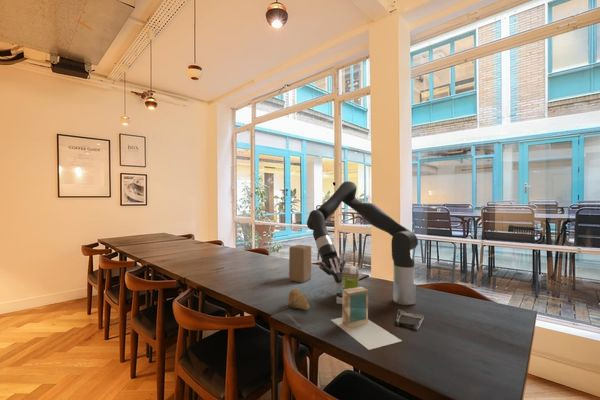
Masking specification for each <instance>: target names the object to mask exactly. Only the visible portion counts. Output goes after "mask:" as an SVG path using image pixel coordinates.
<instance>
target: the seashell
mask: <svg viewBox="0 0 600 400" xmlns="http://www.w3.org/2000/svg"><path fill="white" fill-rule="evenodd" d="M287 305H288V306H289V307H291V308H292V309H299V310H305V311H309V310H310V309H311V305H310V303H309V301H308V299H307V297H306V294H305V293H303V292H302V291H301V290H300V289H299V288H292V289H290V291H289V293H288V299H287Z"/></svg>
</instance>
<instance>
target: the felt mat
mask: <svg viewBox="0 0 600 400" xmlns="http://www.w3.org/2000/svg"><path fill="white" fill-rule="evenodd" d="M330 321H331V322H333V324H335V325H337V326H338V327H339V328H340V329H342V330H343V331H344V332H345V333H347V334H348V335H349V336H350V337H352V338H353V339H354V340H355V341H357V342H358V343H360V344H361V345H362V346H363V347H365V349H367V350H369V351H370V350H373V349H377V348H381V347H384V346H389V345H393V344H396V343H400V342H403V340H402V339H400V338H398V337H397V336H395V335H394V334H392V333H390V331H388V330H386V329H384V328H383V327H381V326H380V325H378V324H376V323H375V322H373V321H372V320H370V319H369V318H368V323H367V324H363V325H358V326H354V327H349V328H348V327H346V326H345V325H344V324H343V323H342V317H337V318H332V319H330Z"/></svg>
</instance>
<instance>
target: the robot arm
mask: <svg viewBox="0 0 600 400" xmlns="http://www.w3.org/2000/svg"><path fill="white" fill-rule="evenodd" d="M356 194H357V185H356V183H355V182H353V181H349V180H346V181H344V182H342V183H341V184H340V185H339V187H338V188H337V189H336V191H334V193H333V194H332V195H331V196H330V198H329V199H327V200H326V201H325V202H323V204H322V205H320V206H319V207H318V209H313V210H311V211H310V213H309V214H308V217H307V220H306V225H307V228H308V229H309V230H311V231H312V236H313V238H314V242H315V244H316V245H315V246H316V248H317V252H318V253H319V256H320V259H321V262H320V264H319V266H318V268H319V269H320V270H322V271H323V272H324V273H325V274H326V275H328V276H333V279H334V281H335V283H336V285H337V284H338V283H341V282H342V277H341V275H340V274H341V272H342V271H343V269H344V266H346V261H345V260H341V259H340V257H339V256H338V252H337V250H336V248H335V245H334V243H333V240H332V239H331V237H330V234H329V232H328V230H327V224H326V221H327V219H328V218H330V216H332V215H333V214H334V213H335V212H336V210H338V208H339V206H340V205H341V203H343V204H345V205H346V206H348V207H349V208H351V209H352V210H354V211H355V212H356V213H358V215H360V216H361V217H362V218H364V220H366V221H367V222H368V223H369V224H370V226H371V225H372V226H373V227H374V228H376V229H379V230H381V231H383V232H385V233H387V234H388V235H390V236H391V244H390V245H391V259H392V261H393V278H392V279H393V281H392V282H393V285H392V287H393V288H392V289H393V290H392V291H393V292H392V293H393V294H392V300H393V301H392V302H394V303H395V304H398V305H403V306H410V305H411V306H412V305H416V289H417V288H416V286H417V285H416V283H415V260H414V259H413V258H412V257H411V256H412V255H411V251H412V250H414V249H416V248H417V247H418V244H419V240H418V237H417V235H416V234H415V233H414V232H412V231H411V230H410V229H408V228H407V227H405V226H403V225H402V224H400V223H399V222H398V221H396V220H395V219H394V218H393V217H391V216H390V215H389V214H387V213H386V212H385V211H384V210H383V209H381V208H380V207H379V206H378V205H376V204H374V203H370V202H369V203H368V202H362V201H360V200H359V199H357V197H356ZM339 266H340V269H339Z"/></svg>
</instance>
